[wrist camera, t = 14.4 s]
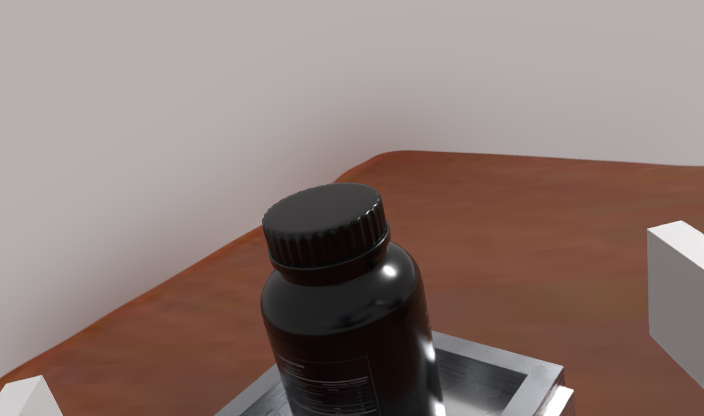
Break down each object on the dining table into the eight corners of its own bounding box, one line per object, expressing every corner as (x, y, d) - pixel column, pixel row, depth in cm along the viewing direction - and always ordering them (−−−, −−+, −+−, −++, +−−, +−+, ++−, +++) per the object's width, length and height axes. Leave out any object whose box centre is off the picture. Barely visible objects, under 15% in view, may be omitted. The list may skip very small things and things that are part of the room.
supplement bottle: (336, 381, 32) (285, 174, 28) (461, 394, 30) (429, 167, 25) (277, 484, 27) (202, 244, 22) (427, 512, 24) (376, 246, 19)
